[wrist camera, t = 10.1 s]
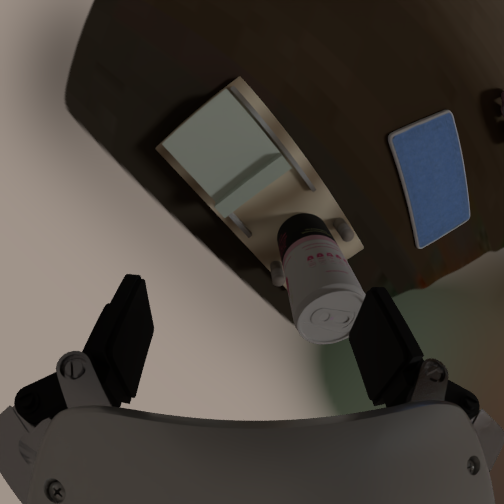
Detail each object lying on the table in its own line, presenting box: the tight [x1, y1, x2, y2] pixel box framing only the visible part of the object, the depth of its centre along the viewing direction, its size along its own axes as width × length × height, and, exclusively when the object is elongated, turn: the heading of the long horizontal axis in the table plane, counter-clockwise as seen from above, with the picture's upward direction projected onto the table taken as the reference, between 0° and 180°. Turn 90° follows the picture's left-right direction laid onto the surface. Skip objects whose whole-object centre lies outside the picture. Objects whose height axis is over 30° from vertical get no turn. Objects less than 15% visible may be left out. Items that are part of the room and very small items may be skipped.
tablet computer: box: [388, 110, 470, 249], centre depth 31 cm, size 19×13×1 cm, turn 30°
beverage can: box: [277, 213, 366, 344], centre depth 28 cm, size 7×7×15 cm
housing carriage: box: [162, 89, 292, 218], centre depth 26 cm, size 10×8×5 cm
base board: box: [155, 76, 364, 289], centre depth 30 cm, size 27×12×5 cm, turn 38°
